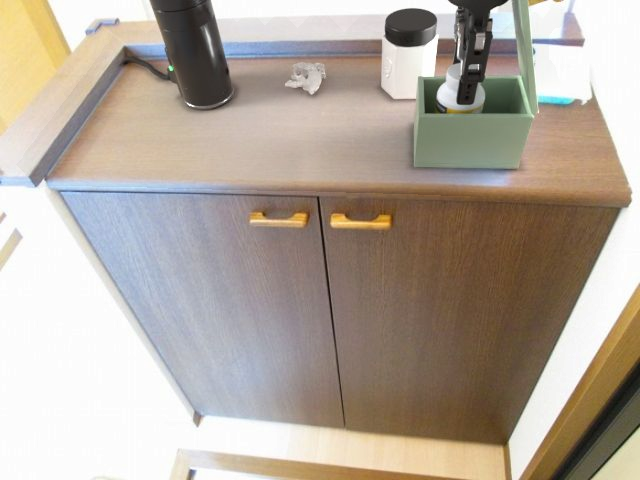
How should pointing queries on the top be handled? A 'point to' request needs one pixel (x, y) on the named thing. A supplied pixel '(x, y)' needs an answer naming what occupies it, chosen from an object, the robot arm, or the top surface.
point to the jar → (408, 51)
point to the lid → (526, 48)
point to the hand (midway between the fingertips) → (462, 85)
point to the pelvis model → (314, 76)
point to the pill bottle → (449, 93)
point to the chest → (473, 127)
